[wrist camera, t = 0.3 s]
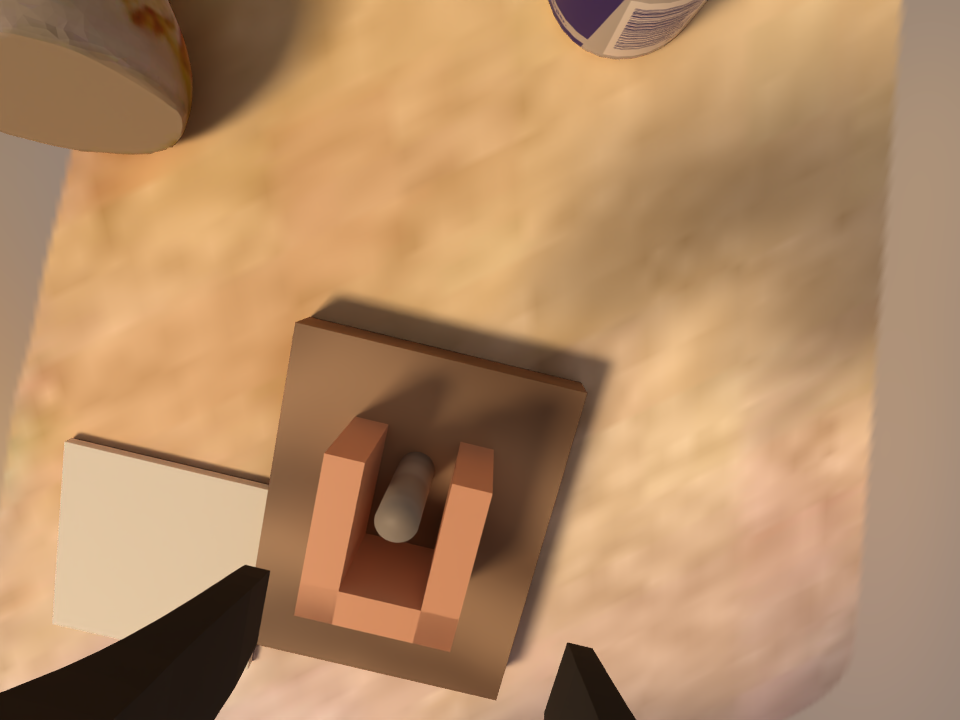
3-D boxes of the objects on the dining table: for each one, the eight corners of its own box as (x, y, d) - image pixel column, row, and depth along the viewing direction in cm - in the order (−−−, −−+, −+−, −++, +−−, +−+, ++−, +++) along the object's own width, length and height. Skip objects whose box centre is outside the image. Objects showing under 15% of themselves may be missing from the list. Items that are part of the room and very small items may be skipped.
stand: (496, 672, 24) (495, 796, 19) (259, 616, 24) (188, 725, 18) (581, 382, 21) (609, 430, 15) (309, 316, 21) (243, 342, 15)
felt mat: (251, 662, 24) (247, 669, 24) (59, 617, 24) (52, 624, 24) (281, 487, 22) (277, 492, 22) (72, 438, 22) (64, 441, 22)
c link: (458, 584, 21) (450, 651, 18) (328, 553, 21) (294, 615, 18) (493, 449, 20) (492, 493, 16) (355, 416, 20) (324, 453, 16)
